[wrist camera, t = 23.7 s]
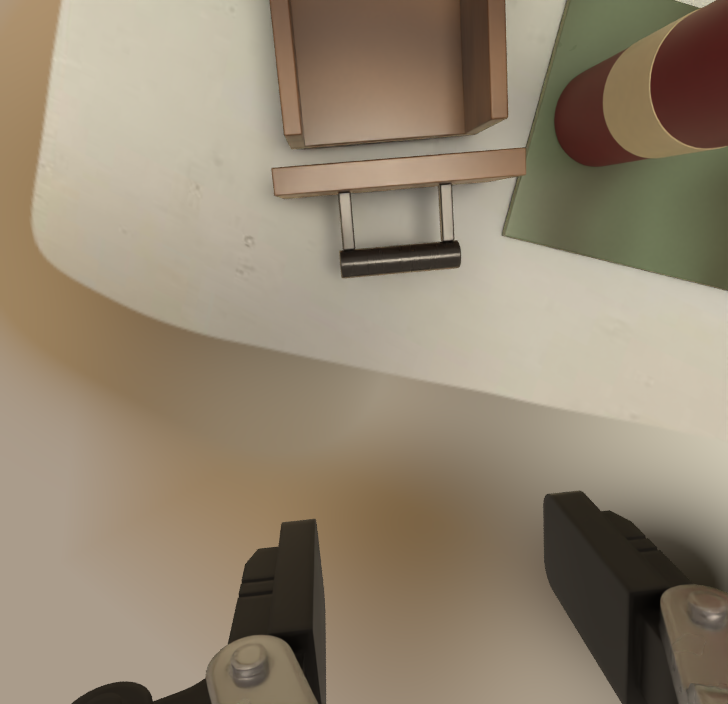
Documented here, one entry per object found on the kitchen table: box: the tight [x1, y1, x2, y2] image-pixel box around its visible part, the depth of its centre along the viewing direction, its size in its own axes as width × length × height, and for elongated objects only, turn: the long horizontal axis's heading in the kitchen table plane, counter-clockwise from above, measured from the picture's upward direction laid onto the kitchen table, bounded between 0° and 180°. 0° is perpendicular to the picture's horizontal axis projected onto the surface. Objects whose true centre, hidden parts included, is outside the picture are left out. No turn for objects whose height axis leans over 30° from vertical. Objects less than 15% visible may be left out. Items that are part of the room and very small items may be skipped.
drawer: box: [270, 0, 526, 278], centre depth 29 cm, size 17×11×6 cm
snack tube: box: [554, 0, 728, 167], centre depth 26 cm, size 5×5×15 cm
